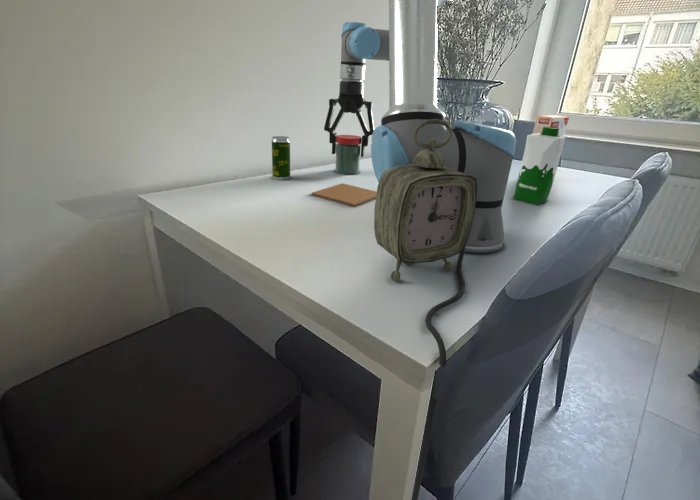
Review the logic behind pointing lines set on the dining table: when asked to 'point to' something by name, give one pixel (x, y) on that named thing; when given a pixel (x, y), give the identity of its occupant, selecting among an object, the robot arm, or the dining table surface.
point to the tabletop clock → (424, 207)
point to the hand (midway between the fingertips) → (348, 154)
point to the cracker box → (551, 123)
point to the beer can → (281, 157)
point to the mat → (346, 194)
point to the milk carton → (539, 165)
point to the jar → (347, 158)
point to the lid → (348, 139)
